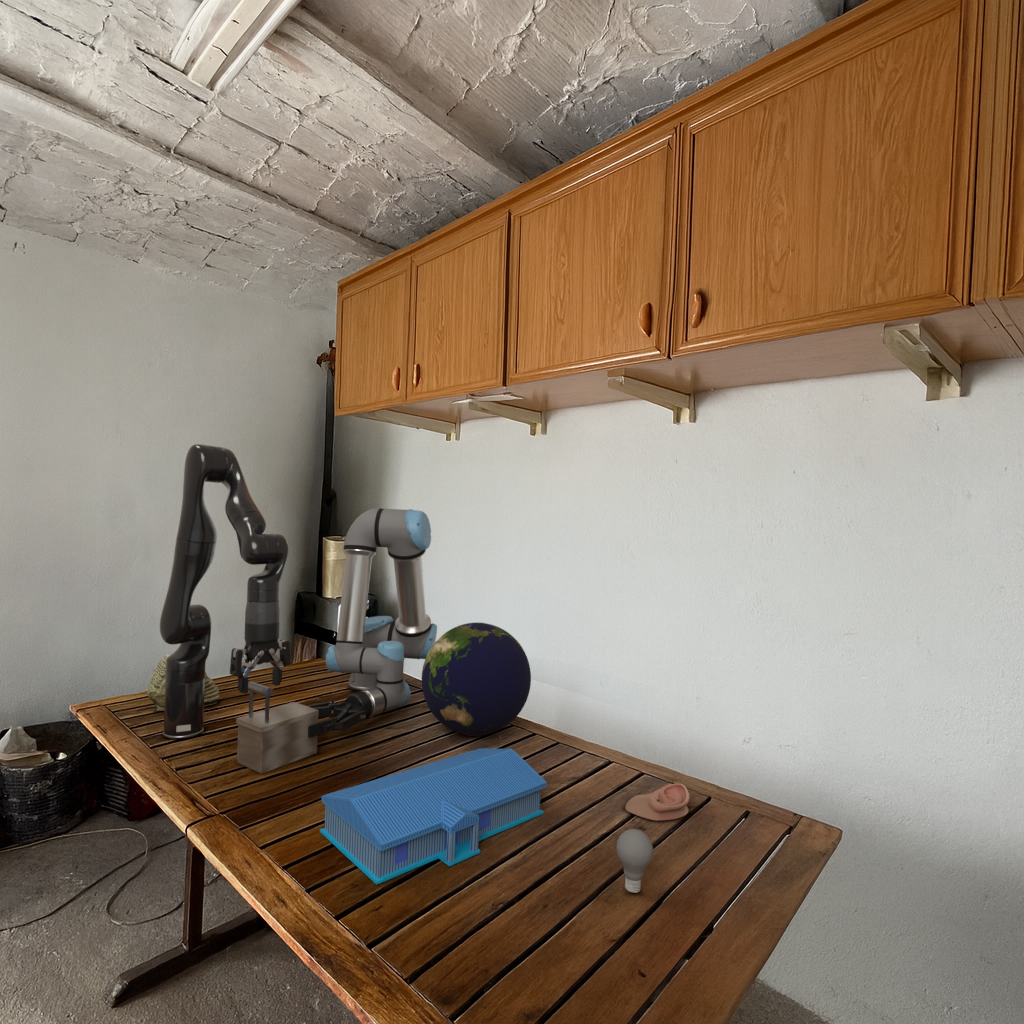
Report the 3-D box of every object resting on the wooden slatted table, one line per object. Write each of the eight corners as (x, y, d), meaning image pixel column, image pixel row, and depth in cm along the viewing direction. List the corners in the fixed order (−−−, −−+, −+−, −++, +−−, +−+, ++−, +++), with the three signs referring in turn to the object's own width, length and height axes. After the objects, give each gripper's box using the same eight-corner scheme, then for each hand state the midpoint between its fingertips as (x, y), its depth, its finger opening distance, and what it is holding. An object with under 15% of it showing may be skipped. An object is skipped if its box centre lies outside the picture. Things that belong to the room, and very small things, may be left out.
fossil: (144, 707, 182) (145, 655, 182) (212, 696, 194) (213, 647, 194) (151, 716, 175) (153, 662, 175) (221, 703, 188) (223, 653, 188)
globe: (398, 740, 166) (402, 626, 165) (451, 707, 194) (455, 609, 193) (502, 762, 155) (508, 640, 154) (543, 724, 182) (548, 620, 182)
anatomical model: (625, 797, 130) (626, 774, 142) (624, 816, 131) (626, 791, 142) (692, 806, 128) (688, 782, 139) (691, 826, 128) (687, 800, 139)
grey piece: (260, 732, 143) (262, 691, 142) (236, 722, 148) (237, 683, 148) (318, 714, 156) (319, 676, 156) (293, 706, 161) (295, 669, 161)
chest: (261, 774, 143) (262, 732, 143) (236, 762, 149) (238, 722, 148) (317, 753, 156) (318, 714, 156) (292, 743, 161) (293, 706, 161)
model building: (386, 894, 102) (389, 832, 102) (318, 830, 120) (320, 778, 120) (555, 819, 128) (557, 770, 128) (478, 776, 146) (480, 733, 146)
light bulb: (610, 879, 108) (613, 822, 108) (644, 879, 109) (647, 822, 109) (619, 902, 102) (622, 840, 102) (655, 901, 103) (658, 840, 103)
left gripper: (244, 626, 139) (242, 699, 139) (298, 617, 151) (296, 685, 151) (224, 621, 143) (222, 692, 144) (278, 613, 155) (276, 679, 155)
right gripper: (392, 728, 168) (324, 753, 150) (336, 709, 181) (267, 731, 162) (393, 699, 168) (325, 722, 150) (337, 683, 181) (268, 702, 162)
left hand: (260, 688), depth 147 cm, fingers open, 8 cm apart
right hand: (295, 726), depth 156 cm, fingers closed on chest, 10 cm apart
